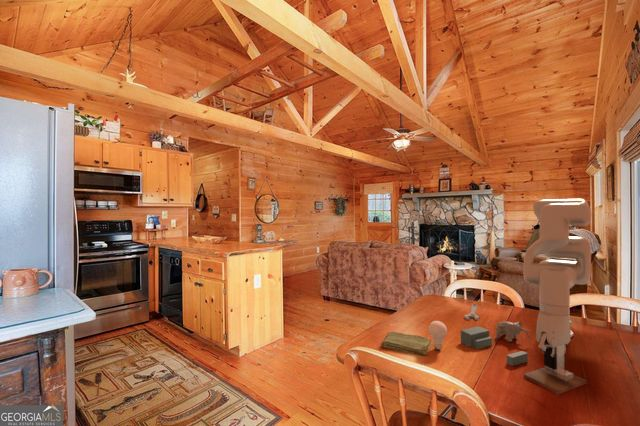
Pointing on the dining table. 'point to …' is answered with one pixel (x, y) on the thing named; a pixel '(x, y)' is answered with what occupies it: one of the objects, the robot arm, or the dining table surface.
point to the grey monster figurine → (509, 330)
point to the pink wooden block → (559, 365)
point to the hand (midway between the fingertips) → (554, 365)
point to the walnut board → (554, 381)
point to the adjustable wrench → (472, 313)
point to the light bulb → (437, 333)
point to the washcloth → (406, 343)
